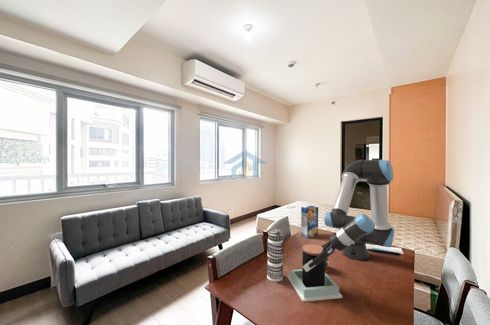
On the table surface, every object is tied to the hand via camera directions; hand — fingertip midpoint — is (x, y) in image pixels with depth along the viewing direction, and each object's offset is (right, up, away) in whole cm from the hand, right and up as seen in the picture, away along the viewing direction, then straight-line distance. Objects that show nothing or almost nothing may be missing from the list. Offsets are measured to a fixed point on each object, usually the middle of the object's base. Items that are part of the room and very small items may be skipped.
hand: (308, 263), depth 103 cm
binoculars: (+11, -11, +16) cm, 23 cm away
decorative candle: (-16, -11, +7) cm, 21 cm away
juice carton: (+23, -11, +70) cm, 74 cm away
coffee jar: (+2, -10, -1) cm, 11 cm away
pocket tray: (+2, -11, -1) cm, 11 cm away
